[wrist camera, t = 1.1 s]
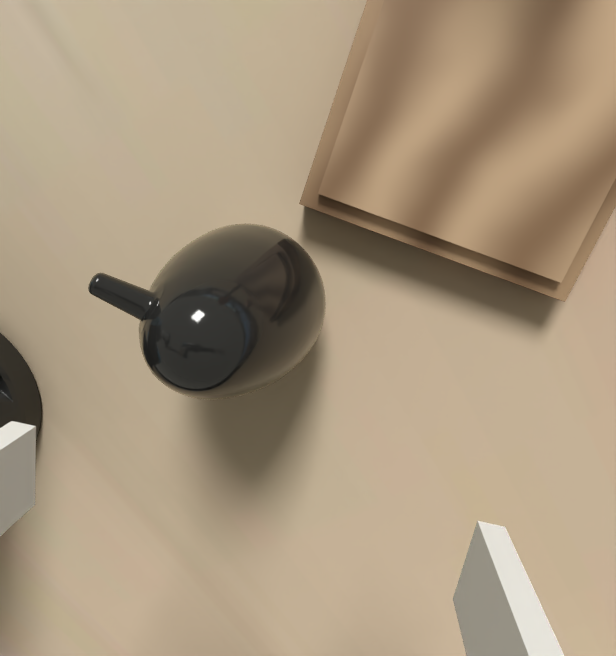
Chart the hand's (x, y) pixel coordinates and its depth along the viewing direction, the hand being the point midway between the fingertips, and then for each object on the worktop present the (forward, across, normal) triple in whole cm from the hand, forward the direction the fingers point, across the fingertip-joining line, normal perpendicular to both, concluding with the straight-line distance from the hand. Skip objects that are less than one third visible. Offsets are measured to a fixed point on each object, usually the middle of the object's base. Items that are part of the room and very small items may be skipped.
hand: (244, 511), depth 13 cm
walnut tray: (+21, +8, +16) cm, 28 cm away
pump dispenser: (+22, -4, +2) cm, 22 cm away
